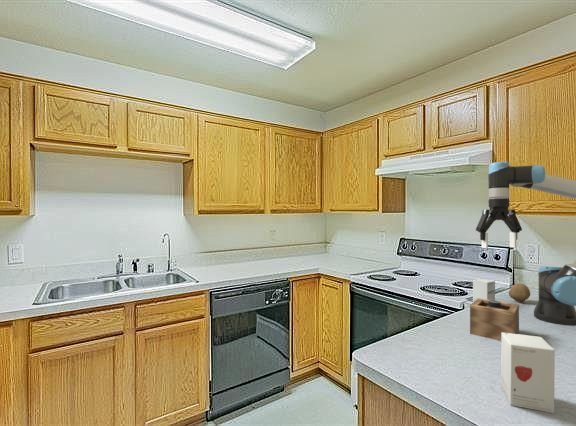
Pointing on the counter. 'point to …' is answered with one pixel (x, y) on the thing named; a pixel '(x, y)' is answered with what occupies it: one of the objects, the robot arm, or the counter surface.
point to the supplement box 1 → (483, 289)
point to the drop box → (493, 319)
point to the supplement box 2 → (527, 371)
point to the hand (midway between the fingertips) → (498, 247)
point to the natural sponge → (519, 292)
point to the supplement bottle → (494, 304)
